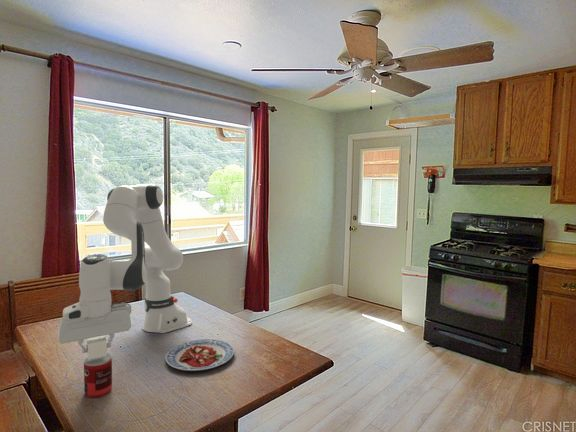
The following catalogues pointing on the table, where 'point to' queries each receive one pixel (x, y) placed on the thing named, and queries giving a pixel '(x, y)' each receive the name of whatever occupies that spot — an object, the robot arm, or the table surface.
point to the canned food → (97, 376)
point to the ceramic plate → (199, 354)
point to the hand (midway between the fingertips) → (96, 349)
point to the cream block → (96, 347)
